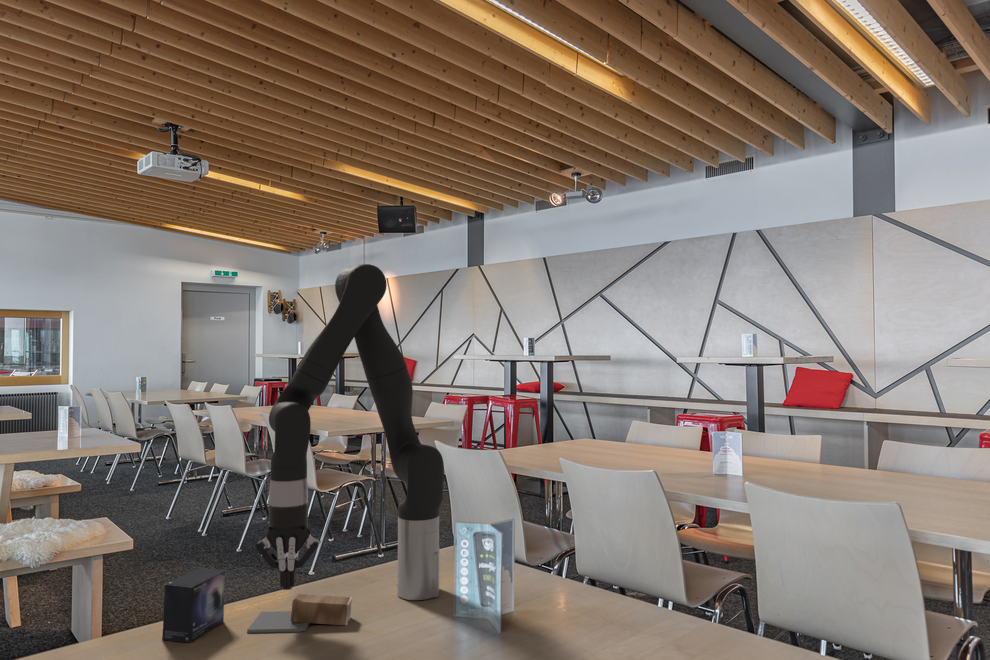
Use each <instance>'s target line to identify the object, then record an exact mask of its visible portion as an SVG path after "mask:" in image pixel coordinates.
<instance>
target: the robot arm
mask: <svg viewBox="0 0 990 660" xmlns="http://www.w3.org/2000/svg"><path fill="white" fill-rule="evenodd" d="M387 286H388V285H387V278H386V276H385V274H384V272H383V270H381V269H380V268H379V267H377V266H376V265H373V264H370V263H368V264H367V263H362V264H357V265H353V266H349V267H348V266H347V267H345V268H344V269H343V270H341V271H340V272H339V273H338V275H337V277H336V279H335V283H334V290H335V295H336V297H337V299H338V302H339V304H338V306H337V308H336V309H335V312H334V313H333V315H332V317H331V318H330V319H329V321H328V322H327V324H326V326H325V327H324V328H323V329H322V330H321V331H320V333H319V334H318V335H317V336H316V337H315V339H314V340H313V342H312V343H311V344H310V345H309V347H308V349H307V350H306V352H305V353H304V354H303V357H302V359H301V361H299V364H298V366H297V367H296V370H295V372H294V373H293V376H292V377H291V379H290V381H289V382H288V384H286V386H285V387H284V389H283V391H282V392H281V393H280V395H279V396H278V397H277V399H276V400H275V402H274V404H273V405H272V408H271V410H270V411H269V415H268V423H269V426H270V428H271V430H273V432H274V451H273V452H272V454H271V458H270V481H269V482H270V483H269V490H268V491H269V492H268V500H267V501H268V530H267V532H266V534H265V537H264V538H263V539H261V540H259V541H258V542H257V543H256V544H255V547H254V548H255V549H256V550H257V551H258V553H259V554H260V555H261V556H262V558H263V559H264V560H265V562H266V563H267V564H268V565H269V567H270V568H271V569H277V570H279V576H280V577H279V579H280V580H279V586H280V588H282V589H283V591H284V590H286V591H290V590H292V589H293V588H294V587H295V585H296V583H297V569H300V568H302V567H303V566H304V565H305V564H306V563H307V562H308V560H309V559H310V558H311V556H312V555H313V553H314V552H315V551H316V550H317V548H319V546H320V544H322V541H321V539H319V538H315V537H314V536H312V535H311V530H310V528H309V487H308V486H309V485H308V457H307V456H308V455H307V454H308V449H309V443H310V436H311V428H312V427H311V416H310V412H309V411H310V409H311V407H312V405H313V404H314V401H315V400H316V399H317V398H319V397H321V396H322V394H323V393H324V392H325V390H326V388H327V386H328V385H329V383H330V381H331V380H332V377H333V376H334V374H335V371H336V370H337V368H338V366H339V364H340V362H341V361H342V358H343V356H344V355H345V353H346V351H347V350H348V349H349V347H350V344H351V343H352V341H353V339H354V341H355V345H356V349H357V351H358V356H359V358H360V362H361V366H362V368H363V371H364V374H365V378H366V382H367V384H368V387H369V390H370V393H371V396H372V398H373V400H374V404H375V408H376V410H377V413H378V417H379V419H380V421H381V425H382V427H383V430H384V431H383V432H384V435H385V440H386V443H387V444H386V445H387V449H388V453H389V458H390V464H391V466H392V470H393V472H394V474H395V476H396V477H397V478H398V479H399V481H401V482H403V483H406V497H405V499H404V500H403V501H400V503H399V504H398V506H397V585H396V586H397V596H398V597H400V598H401V599H403V600H408V601H422V600H428V599H429V600H431V599H433V598H439V595H440V508H441V506H442V503H443V498H444V479H445V464H444V459H443V456H442V453H441V451H440V450H439V449H437V448H436V447H435V446H432V445H429V444H422V443H421V441H420V439H419V437H418V436H419V435H418V433H417V431H416V428H415V425H414V423H413V417H412V415H413V414H412V410H413V407H412V406H413V399H414V398H413V395H414V394H413V393H414V392H413V391H414V390H413V389H414V388H413V382H412V379H411V376H410V372H409V369H408V365H407V362H406V359H405V358H404V355H403V353H402V351H401V350H400V348H399V347H398V345H397V344H396V342H395V340H394V339H393V338H392V335H391V334H390V333H389V332H388V330H387V328H386V326H385V324H384V322H383V320H382V316H381V313H380V310H379V303H380V302H381V301H382V299H383V297H384V296H385V294H386V292H387V291H386V290H387ZM306 542H307V543H306ZM305 543H306V548H307V551H305V553H303V555H302V557H301V558H300V559H298V556H299V551H300V550H301V549H302V548H303V546H304V545H305ZM271 546H272V548H273V549H274V550H275V551H276V553H277V555H276V553H274V551H273V550H272V549H271V548H270V547H271Z"/></svg>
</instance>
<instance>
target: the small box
mask: <svg viewBox="0 0 990 660" xmlns="http://www.w3.org/2000/svg"><path fill="white" fill-rule="evenodd" d="M225 577H226V570H223V569H214V568H206V567H198V568H196V569H194V570H191V571H190V572H186V573H185V574H183V575H181V576H178V577H176V578H175V579H173V580H170V581H168V582H165V583H164V586H163V587H164V591H163V592H164V593H163V619H162V620H163V621H162V637H161V639H162V641H170V642H179V643H186V644H187V643H189V644H191V643H192V642H194V641H195V640H197V639H199V638H200V637H202V636H204V635H205V634H206V633H208V632H209V631H211V630H213V629H214V628H217V627H218V626H219V625H221V624H222V623H224V615H225V614H224V613H225V609H224V608H225V584H226V583H225V580H226V578H225Z"/></svg>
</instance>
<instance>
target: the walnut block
mask: <svg viewBox="0 0 990 660" xmlns="http://www.w3.org/2000/svg"><path fill="white" fill-rule="evenodd" d="M352 602H353V597H352V596H351V597H350V596H349V597H347V596H337V595H336V596H334V595H321V594H320V595H319V594H318V595H317V594H316V595H315V594H302V593H301V594H300V593H297V594H296V596H295V597H294V598H293V600H292V603H291V604H292V605H291V611H292V613H291V622H300V623H310V624H315V625H316V624H320V625H333V626H334V625H337V626H348V624H349V622H348V621H350V619H351V614H352V613H351V612H352Z"/></svg>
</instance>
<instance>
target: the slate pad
mask: <svg viewBox="0 0 990 660" xmlns="http://www.w3.org/2000/svg"><path fill="white" fill-rule="evenodd" d="M291 613H292V610H288V611H287V610H286V611H285V610H283V611H281V610H279V611H275V610H274V611H261V612H260V613H258V615H257V617H256V618H254V620H253V622H252V623H251V624H250V625H249V627H248V628H247V629H246V633H247V634H250V633H251V634H257V633H300V632H301V631H305V632H306V631H307V629H308V627H309V626H308V625H310V624H311V623H300V622H291ZM301 633H302V632H301Z"/></svg>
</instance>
